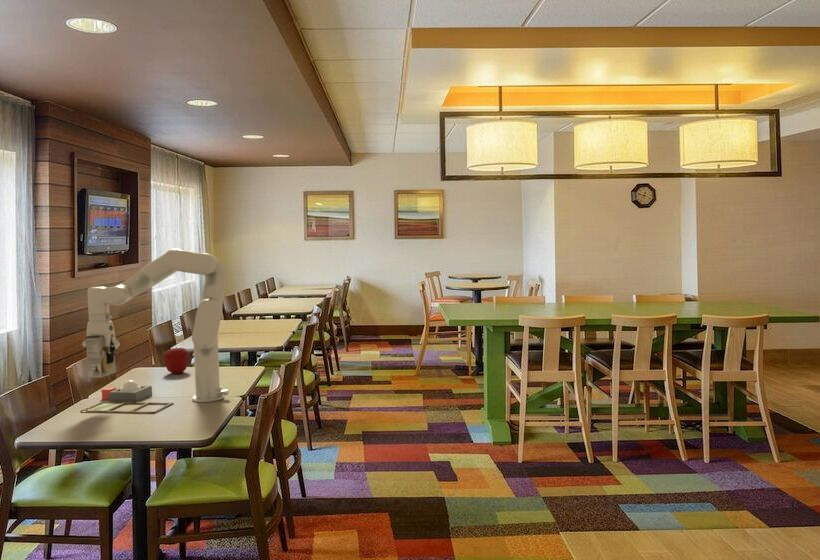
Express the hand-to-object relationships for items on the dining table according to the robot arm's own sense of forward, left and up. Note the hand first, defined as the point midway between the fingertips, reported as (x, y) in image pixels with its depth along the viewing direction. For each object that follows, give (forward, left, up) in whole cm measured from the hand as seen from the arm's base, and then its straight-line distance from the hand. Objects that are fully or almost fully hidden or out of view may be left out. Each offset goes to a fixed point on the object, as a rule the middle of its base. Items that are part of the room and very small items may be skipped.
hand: (101, 362), depth 259 cm
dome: (-2, -15, -16) cm, 22 cm away
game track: (-10, 0, -18) cm, 21 cm away
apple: (+4, -64, -18) cm, 67 cm away
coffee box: (0, 0, -5) cm, 5 cm away
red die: (+8, -15, -18) cm, 25 cm away
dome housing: (-2, -15, -18) cm, 24 cm away
